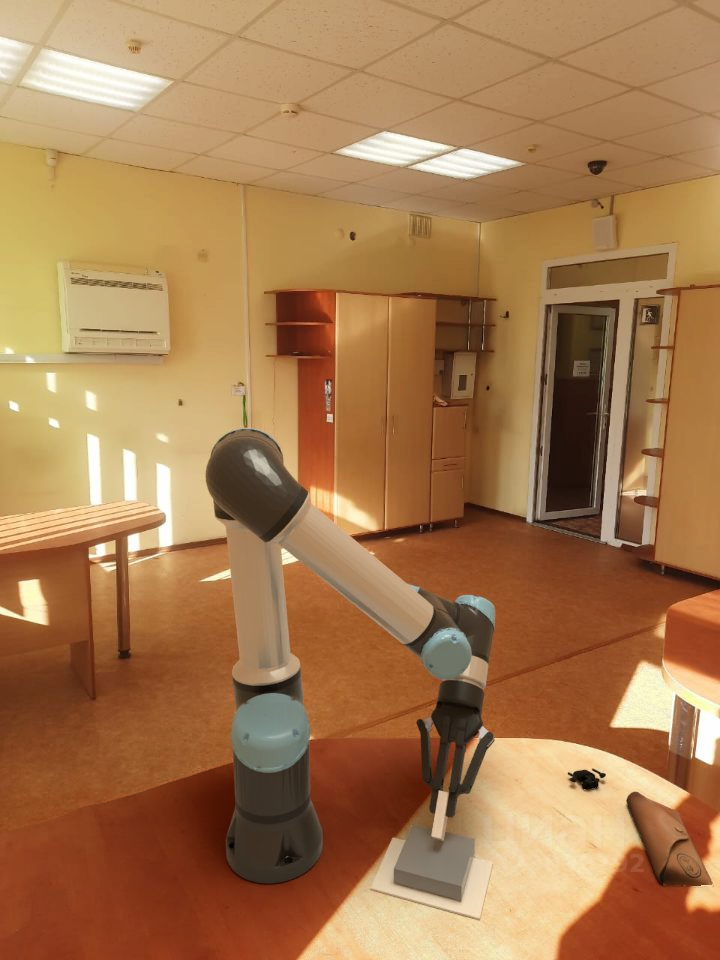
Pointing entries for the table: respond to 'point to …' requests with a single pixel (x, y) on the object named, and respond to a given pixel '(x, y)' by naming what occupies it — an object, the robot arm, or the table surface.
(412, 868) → the slate tile
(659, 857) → the sunglasses case
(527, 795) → the table surface
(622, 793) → the table surface
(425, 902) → the felt mat
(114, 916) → the table surface
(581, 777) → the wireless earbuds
